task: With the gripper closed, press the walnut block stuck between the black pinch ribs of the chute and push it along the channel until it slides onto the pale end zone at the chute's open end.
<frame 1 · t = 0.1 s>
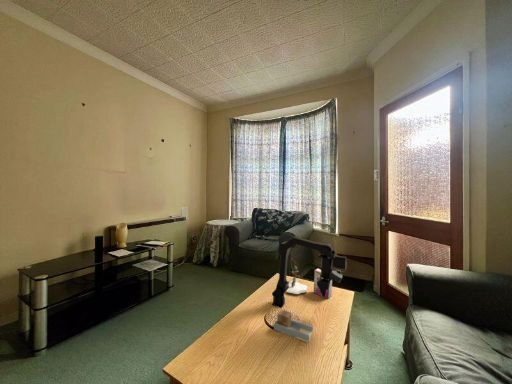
hand: (325, 293, 121), 15 cm above the table, fingers open, 9 cm apart
chute: (293, 330, 111), on the table
walnut block: (284, 319, 113), point 4 cm above the table, slide at 0.0 cm
figurine: (294, 289, 155), on the table
candy bar box: (322, 295, 148), on the table
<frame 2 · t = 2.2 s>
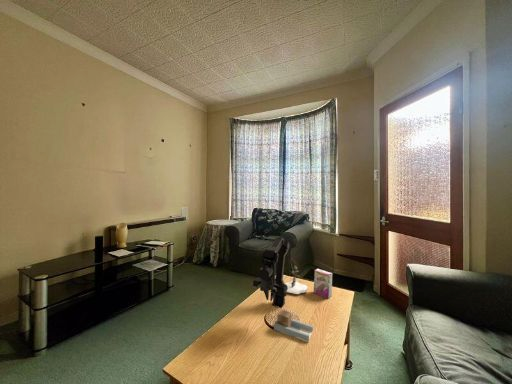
hand: (269, 300, 117), 12 cm above the table, fingers closed
nothing on the table moved.
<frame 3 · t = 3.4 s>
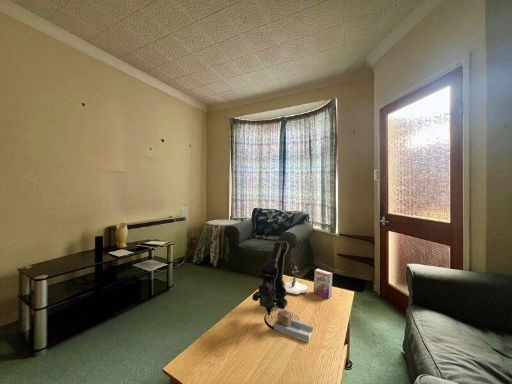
hand: (269, 314, 117), 4 cm above the table, fingers closed
nothing on the table moved.
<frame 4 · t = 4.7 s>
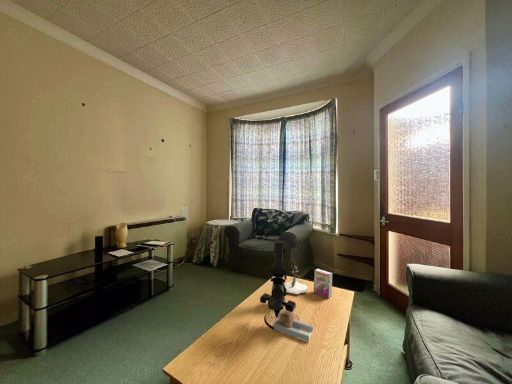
hand: (277, 317, 115), 4 cm above the table, fingers closed
walnut block: (286, 320, 113), point 4 cm above the table, slide at 1.0 cm, touching gripper
everything else where it was.
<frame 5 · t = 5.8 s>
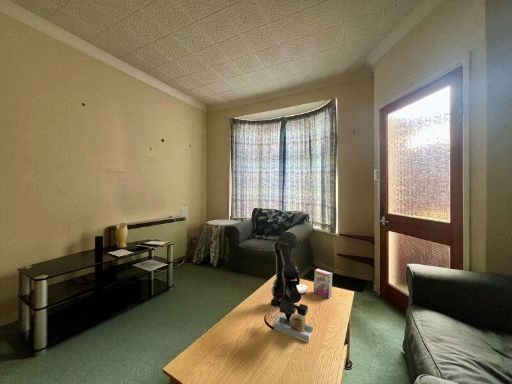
hand: (288, 321, 112), 4 cm above the table, fingers closed
walnut block: (298, 324, 110), point 4 cm above the table, slide at 7.4 cm, touching gripper
everything else where it was.
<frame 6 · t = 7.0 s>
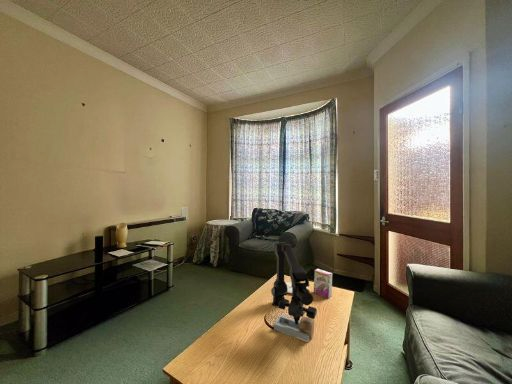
hand: (296, 324, 110), 4 cm above the table, fingers closed
walnut block: (306, 327, 108), point 4 cm above the table, slide at 11.9 cm, touching gripper
everything else where it was.
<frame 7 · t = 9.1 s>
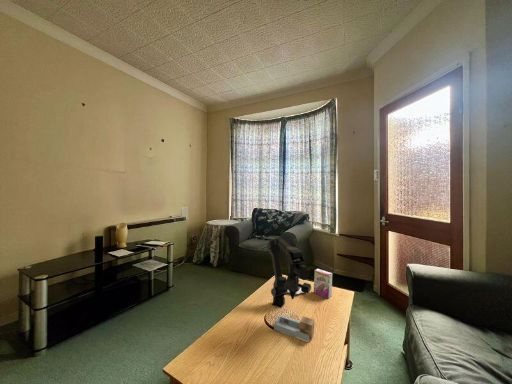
hand: (292, 298, 120), 12 cm above the table, fingers closed
walnut block: (306, 327, 108), point 4 cm above the table, slide at 12.0 cm
everything else where it was.
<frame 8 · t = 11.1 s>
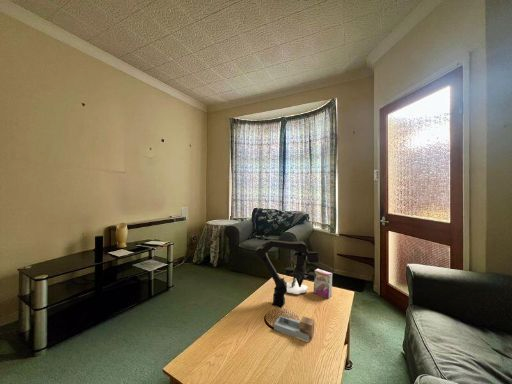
hand: (299, 286, 134), 12 cm above the table, fingers closed
nothing on the table moved.
at the end: walnut block slide at 12.0 cm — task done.
